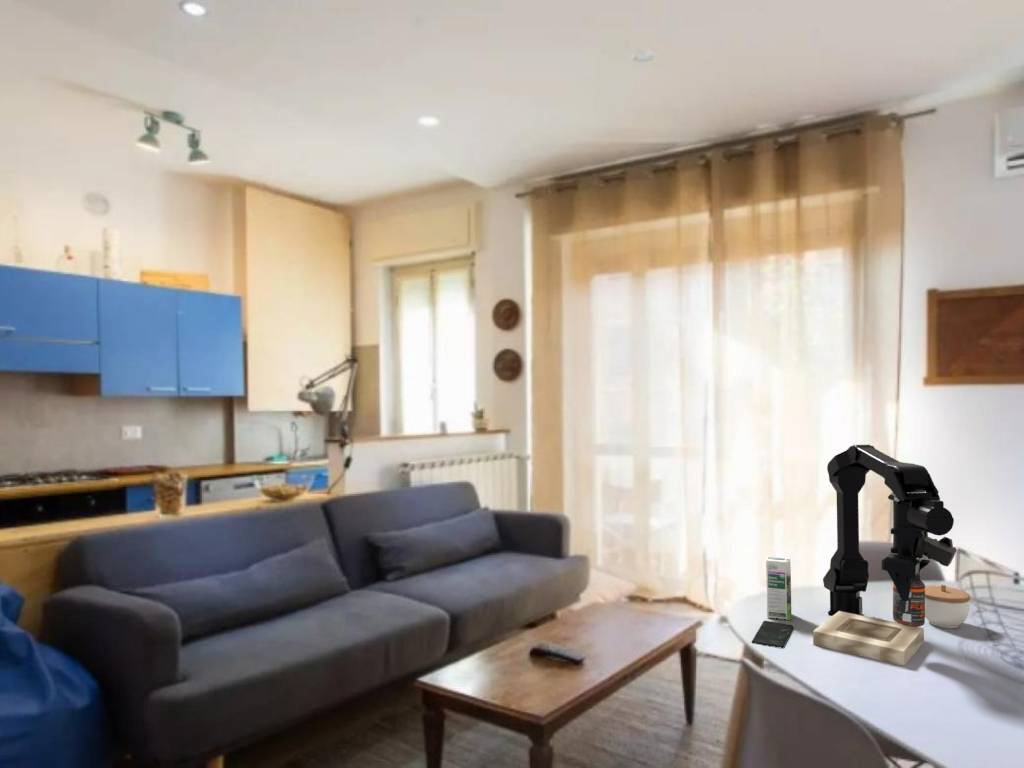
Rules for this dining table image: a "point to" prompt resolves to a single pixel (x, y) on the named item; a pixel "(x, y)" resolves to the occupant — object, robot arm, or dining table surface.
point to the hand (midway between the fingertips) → (908, 596)
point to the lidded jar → (946, 606)
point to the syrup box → (778, 587)
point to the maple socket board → (869, 637)
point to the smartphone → (773, 634)
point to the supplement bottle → (910, 605)
